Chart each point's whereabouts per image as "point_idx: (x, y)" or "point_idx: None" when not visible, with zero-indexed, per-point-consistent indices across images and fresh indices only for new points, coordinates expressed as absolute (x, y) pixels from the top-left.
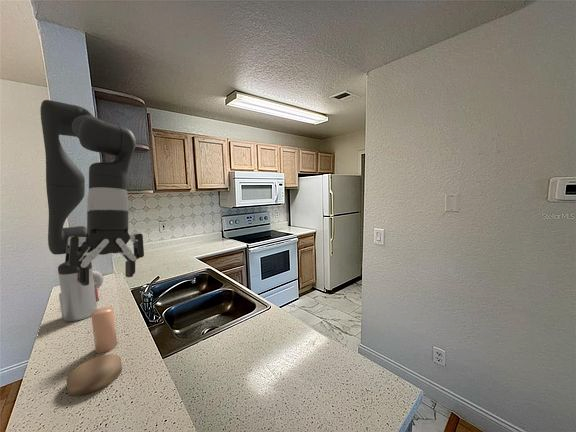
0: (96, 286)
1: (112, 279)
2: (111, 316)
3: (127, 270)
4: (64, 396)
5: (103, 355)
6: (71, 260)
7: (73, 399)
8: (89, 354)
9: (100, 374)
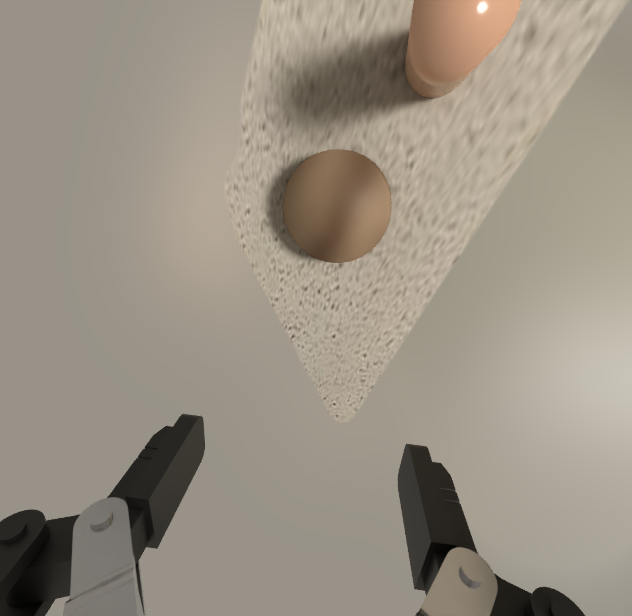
0: None
1: None
2: (471, 66)
3: (409, 495)
4: None
5: (375, 167)
6: (10, 612)
7: None
8: (391, 47)
9: (329, 247)
